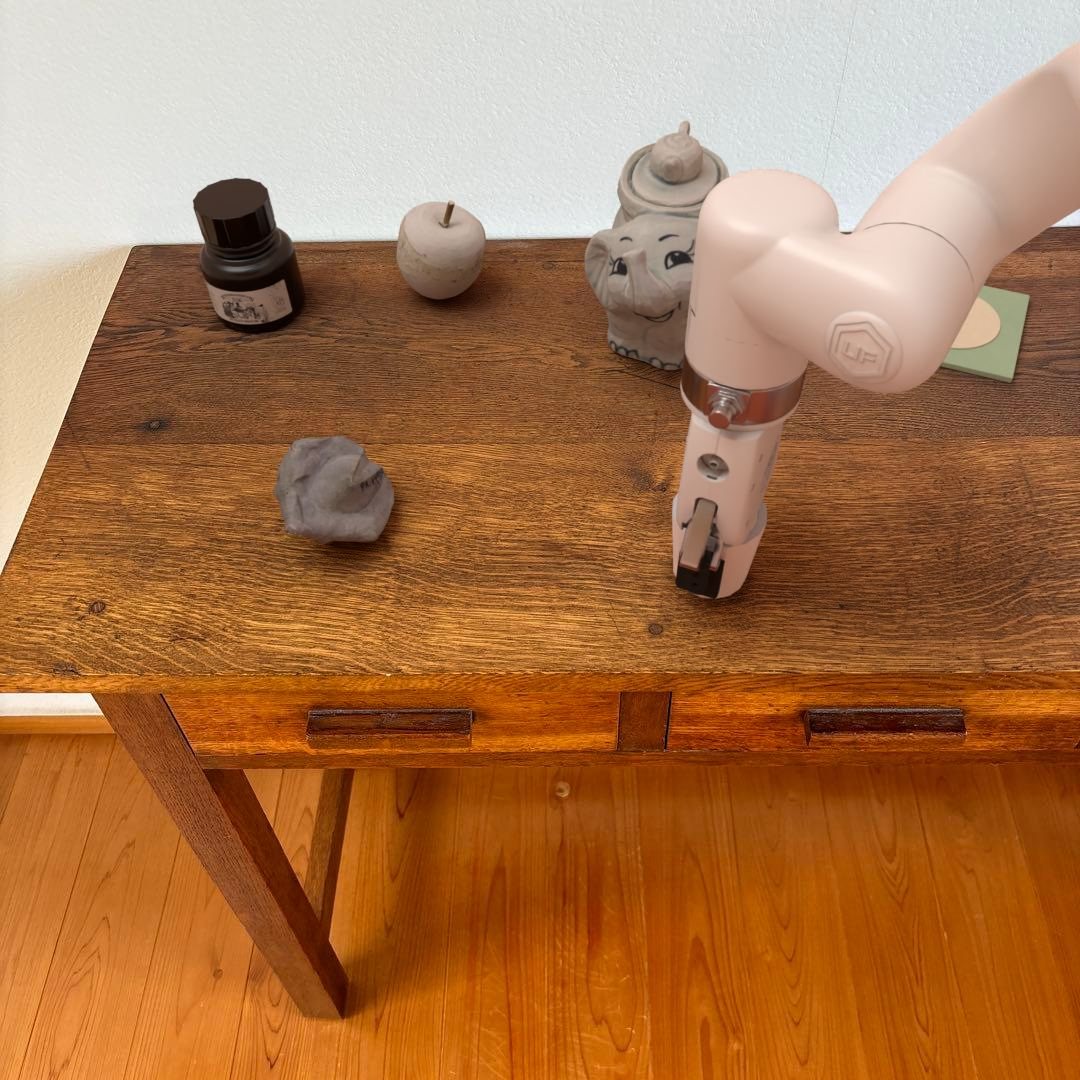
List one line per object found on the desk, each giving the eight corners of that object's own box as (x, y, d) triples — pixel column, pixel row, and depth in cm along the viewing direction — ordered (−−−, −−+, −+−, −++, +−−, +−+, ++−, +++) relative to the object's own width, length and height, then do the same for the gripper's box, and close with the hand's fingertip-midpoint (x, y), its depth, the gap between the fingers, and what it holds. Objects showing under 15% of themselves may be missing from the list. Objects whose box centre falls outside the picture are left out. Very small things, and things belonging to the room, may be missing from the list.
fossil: (379, 583, 78) (363, 515, 72) (266, 575, 79) (240, 507, 73) (407, 478, 85) (394, 408, 79) (302, 472, 86) (281, 402, 80)
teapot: (637, 419, 89) (650, 233, 75) (537, 333, 97) (530, 149, 83) (773, 345, 95) (809, 159, 81) (668, 269, 103) (684, 87, 89)
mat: (1028, 300, 98) (1030, 293, 98) (1010, 383, 91) (1013, 376, 90) (892, 270, 102) (894, 264, 101) (865, 348, 94) (867, 342, 94)
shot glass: (762, 547, 80) (776, 486, 74) (744, 615, 75) (757, 556, 70) (677, 526, 81) (684, 466, 76) (655, 592, 77) (661, 533, 72)
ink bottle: (197, 327, 99) (159, 219, 90) (235, 274, 104) (202, 166, 95) (290, 340, 97) (260, 231, 88) (323, 285, 103) (299, 177, 93)
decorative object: (388, 282, 103) (373, 193, 95) (465, 255, 105) (456, 166, 98) (425, 329, 98) (413, 239, 90) (505, 300, 100) (499, 210, 93)
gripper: (763, 484, 57) (726, 658, 71) (834, 305, 67) (790, 488, 81) (637, 448, 59) (625, 624, 73) (725, 280, 69) (699, 463, 83)
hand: (712, 551), depth 77 cm, fingers closed on shot glass, 6 cm apart
